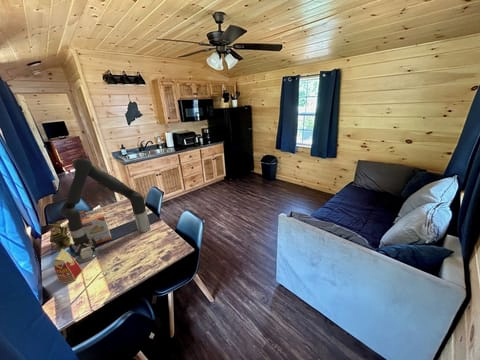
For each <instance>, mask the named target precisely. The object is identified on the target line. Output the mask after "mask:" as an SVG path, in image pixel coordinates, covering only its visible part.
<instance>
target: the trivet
mask: <svg viewBox="0 0 480 360" xmlns="http://www.w3.org/2000/svg"><path fill="white" fill-rule="evenodd" d="M91 250H92V249H91ZM98 254H99V252H98V250H97V249H95V251H94V252H93V250H92V256H91V257H88V258H85V259H83V258H82V256H81V254H80V256H77V258H76V262H77V263H78V264H80V263H81V264H82V263H87V262H90V261H92V260H93V259H95V258H96V257H97V256H98Z"/></svg>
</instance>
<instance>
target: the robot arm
mask: <svg viewBox="0 0 480 360" xmlns="http://www.w3.org/2000/svg"><path fill="white" fill-rule="evenodd" d="M72 167H73V169H74V176H73V179H72V183H71V185H70V186H69V189H68V192H67V195H66V200H65V202H64V203H63V205H62V207H61V209H60V215H61V217H63V218H65V219H67V221H68V222H67V229H68V230H69V232H70V233H69V234H70V238H72V241H73V243H71V242H70V245H69V247H68V248H69V250H70V254H73V253H75V255H76V256H77V257H79V256H80V255H81V254H80V253H81V252H80V251H79V249H83V248H87V247H90V248H91V250H93V252H94V251H95V250H96V246H97V245H98V244H97V243H96V241H95V238H94V237H92V238H91V239H88V237H87V234H86V232H85V229H84V228H83V226H82V223H81V218H80V213H79V212H80V210H78V209H77V208H76V206H77V205H78V204H79V203H80V201H81V199H82V196H83V192H84V187H85V184H86V180H87V178H88V177H89V178H91V179H93V181H96V182H97V183H98V184H100V185H101V186H103V188H105V189H107V190H109V191H110V192H113V193H117V194H119V195H121V196H122V197H125V198H126V199H127V200H128V201H129V202H130V204H131V208H132V213H133V217H134V220H135V224H136V227H137V231H138V232H139V233H147V232H148V231H150V230H151V223H150V221H149V217H148V213H147V209H146V207H147V206H146V203H145V199H144V196H143V195H142V194H141V193H140V192H138V191H137V190H134V189H133V188H131V187H129V186H127V185H126V184H125V183H124V182H123V181H121V180H120V179H118V178H116V177H115V176H113V175H112V174H110V173H107V172H105V171H103V170H101V169H99V168H98V167H96V166H95V165H94V164H93V163H92V161H91V160H90V159H88V158H86V157H79V158H76V159H74V160H73V161H72ZM89 241H91V242H93V244H92V243H91V242H89ZM74 246H75V249H74Z"/></svg>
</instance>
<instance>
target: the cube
mask: <svg viewBox="0 0 480 360" xmlns="http://www.w3.org/2000/svg"><path fill="white" fill-rule="evenodd" d="M79 253H80V255H81V256H82V258H83V259H85V258H88V257H91V256H92V247H88V246H86V247H83V248H80V252H79Z"/></svg>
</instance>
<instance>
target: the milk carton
mask: <svg viewBox="0 0 480 360" xmlns="http://www.w3.org/2000/svg"><path fill="white" fill-rule="evenodd" d="M59 251H60V252H58V253H57V254H56V257H55V258H54V259H53V261H52V262H53V267H54V271H55V275H56V277H57V280H58V282H59V283H62V284H64V283H65V284H69V283H72V282H75V281H77V279H78V277H79V276H80V275H81V274H82V273H83V272H84V270H83V269H82V267H81V266H80V263H79V262H78V261H77V260H76V259H75V258H74V257H73V256H72V255H71V253H69V252H68V251H66V250H64V249H61V250H59Z"/></svg>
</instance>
